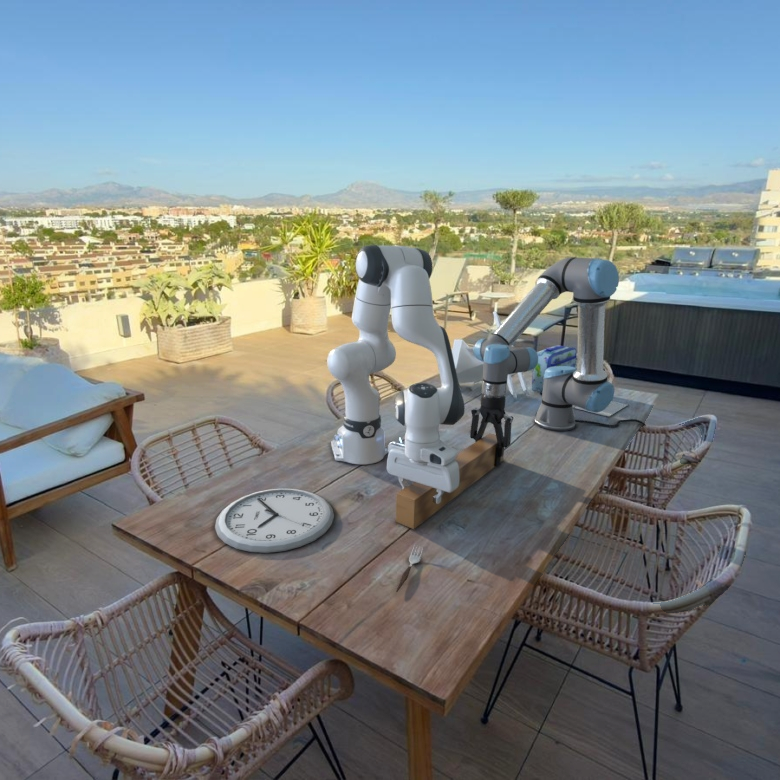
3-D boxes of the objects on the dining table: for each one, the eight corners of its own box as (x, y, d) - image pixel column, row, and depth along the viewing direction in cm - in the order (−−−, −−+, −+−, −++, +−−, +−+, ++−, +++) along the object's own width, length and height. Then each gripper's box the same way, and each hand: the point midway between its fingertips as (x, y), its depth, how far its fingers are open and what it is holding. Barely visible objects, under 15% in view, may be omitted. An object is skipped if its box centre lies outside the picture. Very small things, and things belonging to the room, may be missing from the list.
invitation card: (608, 416, 214) (573, 407, 224) (608, 416, 214) (573, 408, 224) (628, 404, 229) (594, 396, 238) (628, 405, 229) (594, 397, 238)
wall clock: (332, 544, 122) (200, 548, 120) (332, 550, 123) (201, 555, 120) (334, 484, 151) (228, 486, 148) (334, 489, 151) (228, 491, 149)
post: (487, 456, 175) (489, 433, 173) (503, 460, 172) (505, 437, 170) (395, 522, 135) (396, 493, 133) (413, 529, 132) (414, 500, 130)
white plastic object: (461, 429, 252) (437, 405, 227) (444, 352, 274) (420, 323, 250) (535, 404, 240) (518, 377, 215) (510, 326, 262) (492, 293, 237)
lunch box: (548, 398, 236) (553, 353, 229) (527, 393, 243) (531, 349, 237) (575, 387, 253) (581, 344, 247) (555, 382, 260) (560, 341, 254)
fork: (390, 592, 109) (390, 584, 108) (413, 550, 123) (413, 543, 123) (402, 595, 108) (402, 587, 107) (424, 552, 122) (424, 545, 122)
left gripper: (381, 442, 135) (381, 491, 139) (450, 461, 124) (449, 513, 128) (395, 435, 140) (395, 482, 144) (463, 453, 129) (461, 503, 133)
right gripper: (461, 391, 165) (457, 458, 172) (516, 403, 154) (509, 474, 161) (472, 386, 171) (468, 451, 178) (526, 397, 160) (519, 466, 167)
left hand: (421, 497), depth 136 cm, fingers open, 8 cm apart
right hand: (488, 462), depth 170 cm, fingers closed on post, 6 cm apart
